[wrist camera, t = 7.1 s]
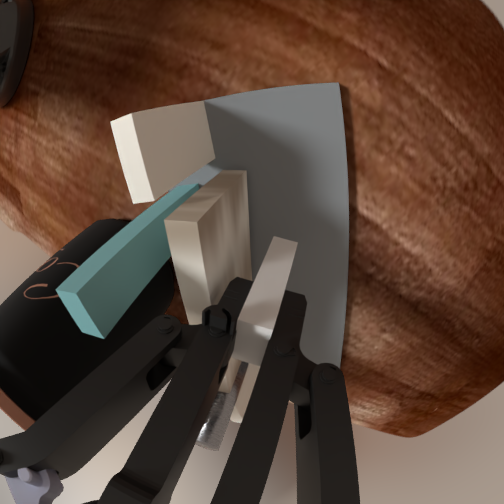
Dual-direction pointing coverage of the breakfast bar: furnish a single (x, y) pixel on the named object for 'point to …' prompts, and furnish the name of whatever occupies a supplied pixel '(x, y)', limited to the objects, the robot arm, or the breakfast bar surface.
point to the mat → (292, 193)
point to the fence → (169, 169)
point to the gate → (211, 247)
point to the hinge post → (221, 413)
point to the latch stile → (121, 267)
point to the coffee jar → (63, 329)
